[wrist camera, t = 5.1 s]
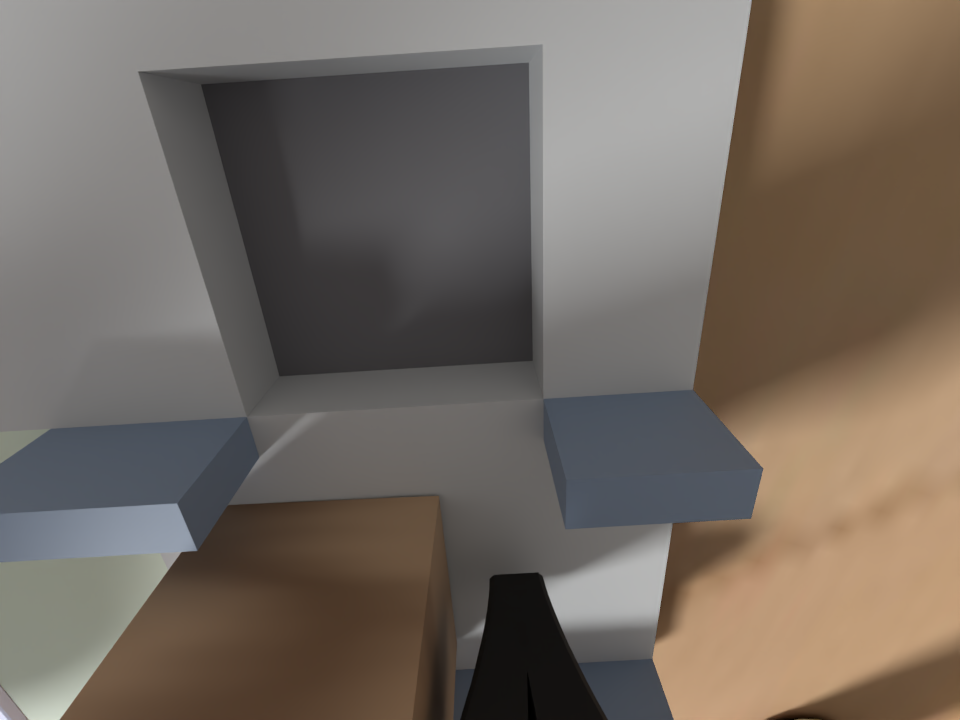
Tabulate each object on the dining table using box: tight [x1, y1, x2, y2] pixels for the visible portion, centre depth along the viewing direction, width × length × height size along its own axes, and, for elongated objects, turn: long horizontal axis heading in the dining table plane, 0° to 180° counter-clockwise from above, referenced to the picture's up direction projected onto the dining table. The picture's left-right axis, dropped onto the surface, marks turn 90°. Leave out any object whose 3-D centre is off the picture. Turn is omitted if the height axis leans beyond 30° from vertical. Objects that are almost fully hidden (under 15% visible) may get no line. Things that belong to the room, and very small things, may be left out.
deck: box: [0, 0, 763, 720], centre depth 9 cm, size 18×24×4 cm
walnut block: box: [60, 496, 457, 720], centre depth 9 cm, size 5×5×5 cm
